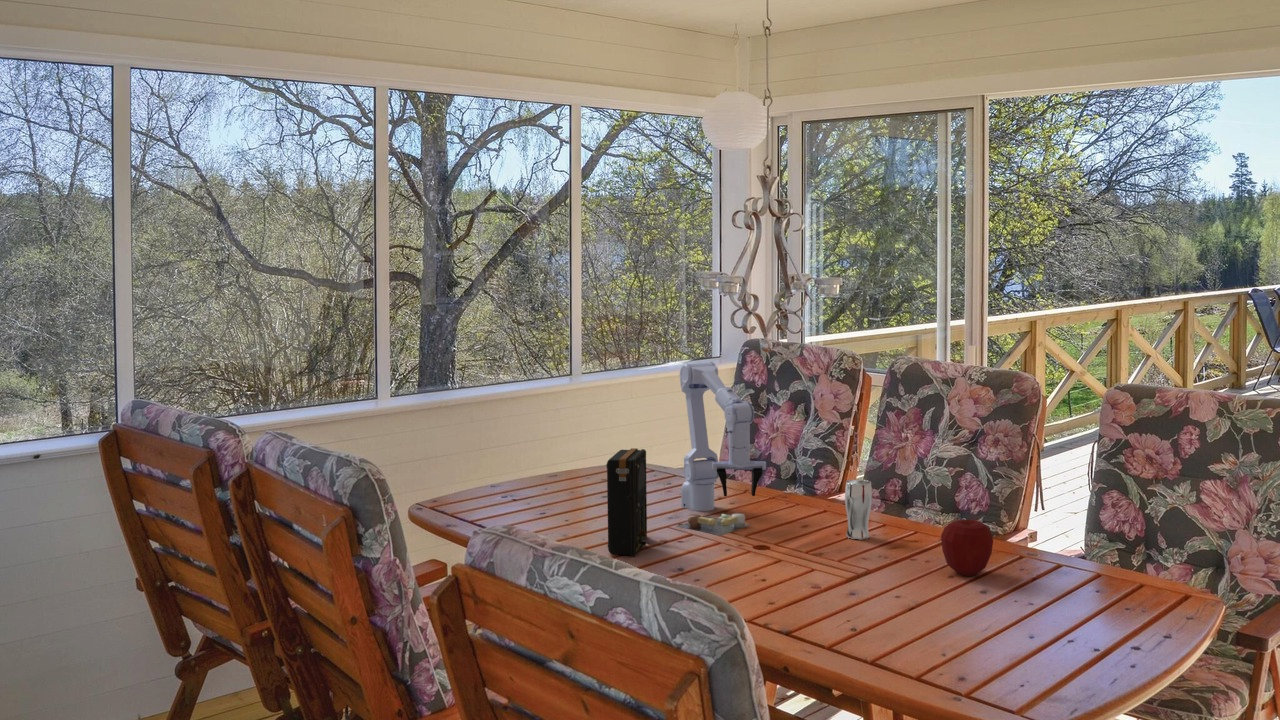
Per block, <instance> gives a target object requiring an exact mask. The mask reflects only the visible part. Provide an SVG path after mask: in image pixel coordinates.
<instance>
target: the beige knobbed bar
mask: <svg viewBox="0 0 1280 720" xmlns="http://www.w3.org/2000/svg"><path fill="white" fill-rule="evenodd" d="M714 518H715V517H713V518H706V516H702V515H701V514H697V513H694V514H693V513H692V514H688V515H687V523H688V527H689V528H700V527H701V524H706V525H710V526H715V524H716V520H715V519H714Z"/></svg>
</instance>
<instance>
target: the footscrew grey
mask: <svg viewBox="0 0 1280 720" xmlns="http://www.w3.org/2000/svg"><path fill="white" fill-rule="evenodd" d="M721 524H722V525H723V526H725V527H726V526H728V525H731V524H732V527H737V528H741V527H744V528H746V527H745V524H746V515H745V514H744V513H732V514H731V517H729V518H724V519H723V520H722V521H721ZM741 529H742V528H741Z"/></svg>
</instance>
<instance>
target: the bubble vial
mask: <svg viewBox="0 0 1280 720" xmlns="http://www.w3.org/2000/svg"><path fill="white" fill-rule="evenodd" d="M729 517H732V514H731V515H730V514H725V513H721V515H720V516H719V517H717V518H718V522H721V521H722V520H723V519H724V518H729Z"/></svg>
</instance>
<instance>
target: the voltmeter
mask: <svg viewBox="0 0 1280 720" xmlns="http://www.w3.org/2000/svg"><path fill="white" fill-rule="evenodd" d="M606 482H607V483H606V486H607V487H606V489H607V490H606V491H607V493H606V494H607V495H606V496H607V549H608V553H609V554H610V555H618V556H619V555H621V556H623V555H624V556H631V557H636V556H637V555H638V554H639V552H640V551H641V550H642V548H643V547H644V545H645V544H646V541H644V540H645V539H647V537H648V522H647V521H648V516H647V515H648V511H647V508H648V507H647V504H648V503H647V500H648V499H647V497H648V496H647V495H648V494H647V451H646V449H638V448H635V447H634V448H633V447H631V448H629V449H620V450H619V451H617V452H616V453H615V454H614V455H612V456H611V457H610V458H609V459H608V460H607V463H606Z"/></svg>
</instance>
